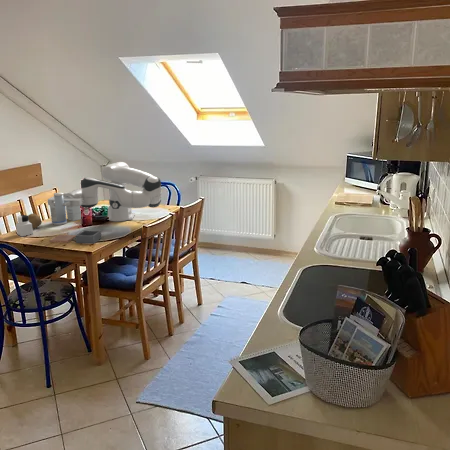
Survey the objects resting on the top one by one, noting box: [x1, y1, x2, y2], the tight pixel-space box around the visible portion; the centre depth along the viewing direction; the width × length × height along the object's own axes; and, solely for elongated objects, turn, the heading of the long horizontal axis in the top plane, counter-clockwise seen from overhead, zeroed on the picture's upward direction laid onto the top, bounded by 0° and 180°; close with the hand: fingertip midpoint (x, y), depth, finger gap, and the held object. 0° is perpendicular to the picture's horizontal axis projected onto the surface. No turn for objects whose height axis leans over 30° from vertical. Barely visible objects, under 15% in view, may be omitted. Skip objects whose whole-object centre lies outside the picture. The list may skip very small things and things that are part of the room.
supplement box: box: [65, 206, 82, 222], centre depth 304 cm, size 7×7×13 cm
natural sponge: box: [27, 213, 42, 230], centre depth 282 cm, size 9×9×10 cm
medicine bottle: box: [15, 214, 34, 237], centre depth 269 cm, size 7×7×12 cm
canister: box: [53, 191, 67, 221], centre depth 254 cm, size 5×5×16 cm
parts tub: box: [75, 230, 102, 245], centre depth 257 cm, size 11×11×4 cm
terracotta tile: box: [49, 234, 77, 243], centre depth 260 cm, size 11×11×1 cm
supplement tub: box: [49, 205, 68, 226], centre depth 293 cm, size 10×10×15 cm
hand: (58, 204), depth 253 cm, fingers closed on canister, 5 cm apart
